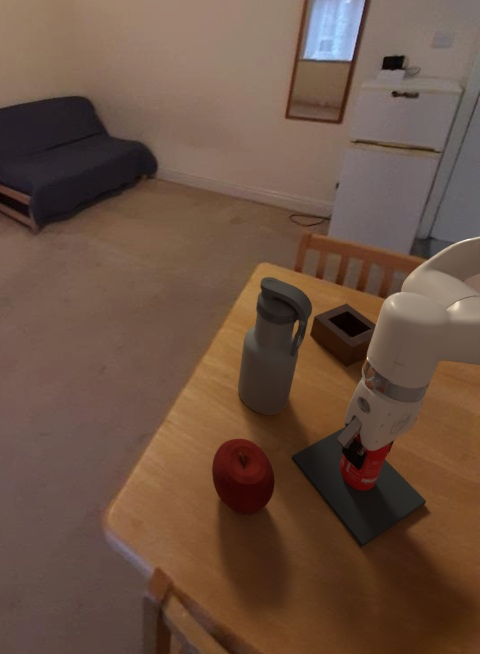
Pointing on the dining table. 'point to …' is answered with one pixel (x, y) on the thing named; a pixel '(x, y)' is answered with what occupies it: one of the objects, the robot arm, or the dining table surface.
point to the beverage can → (364, 468)
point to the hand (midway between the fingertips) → (365, 452)
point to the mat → (350, 504)
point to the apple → (243, 476)
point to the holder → (338, 342)
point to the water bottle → (273, 346)
